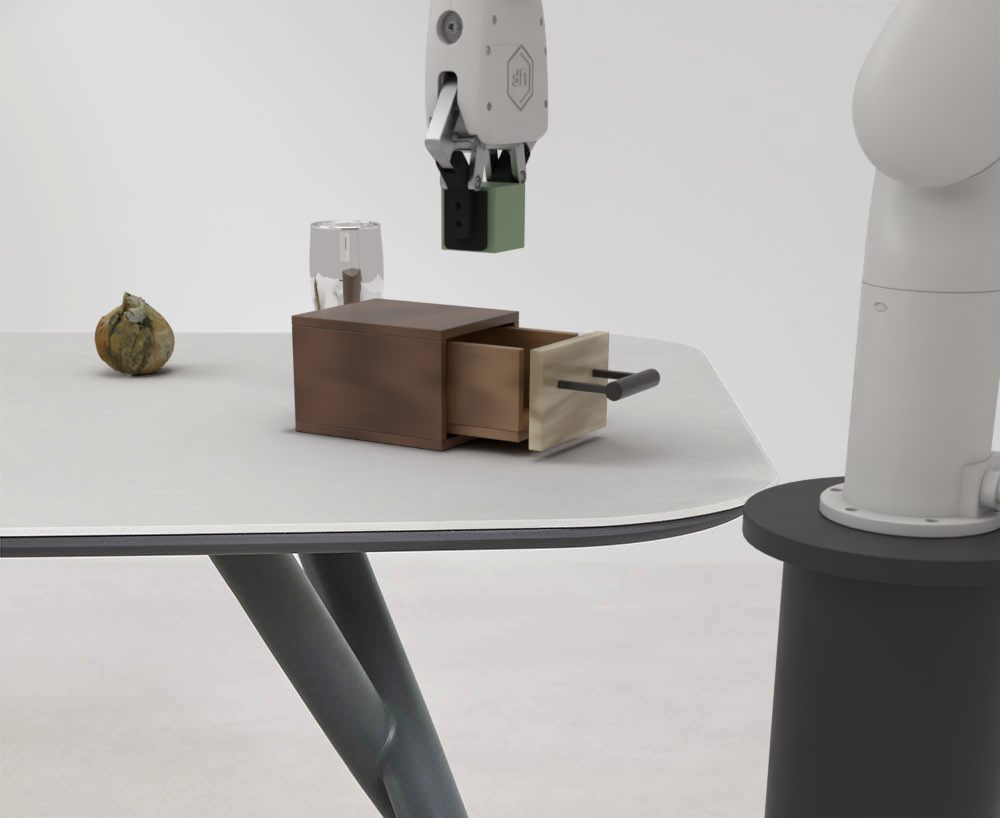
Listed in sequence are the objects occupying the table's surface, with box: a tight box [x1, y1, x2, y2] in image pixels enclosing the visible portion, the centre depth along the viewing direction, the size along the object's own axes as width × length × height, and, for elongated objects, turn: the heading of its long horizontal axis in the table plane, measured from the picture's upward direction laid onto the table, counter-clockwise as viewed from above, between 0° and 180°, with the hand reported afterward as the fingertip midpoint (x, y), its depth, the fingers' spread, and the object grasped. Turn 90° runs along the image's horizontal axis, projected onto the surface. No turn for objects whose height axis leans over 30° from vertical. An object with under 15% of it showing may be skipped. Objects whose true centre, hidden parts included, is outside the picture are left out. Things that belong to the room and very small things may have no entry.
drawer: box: [445, 325, 661, 452], centre depth 139 cm, size 19×11×8 cm, turn 60°
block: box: [440, 181, 526, 254], centre depth 122 cm, size 4×4×4 cm
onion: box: [94, 291, 176, 376], centre depth 169 cm, size 8×8×8 cm
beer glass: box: [308, 219, 385, 311], centre depth 161 cm, size 7×7×15 cm
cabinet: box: [291, 298, 520, 452], centre depth 145 cm, size 15×13×10 cm
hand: (483, 243), depth 122 cm, fingers closed on block, 4 cm apart
